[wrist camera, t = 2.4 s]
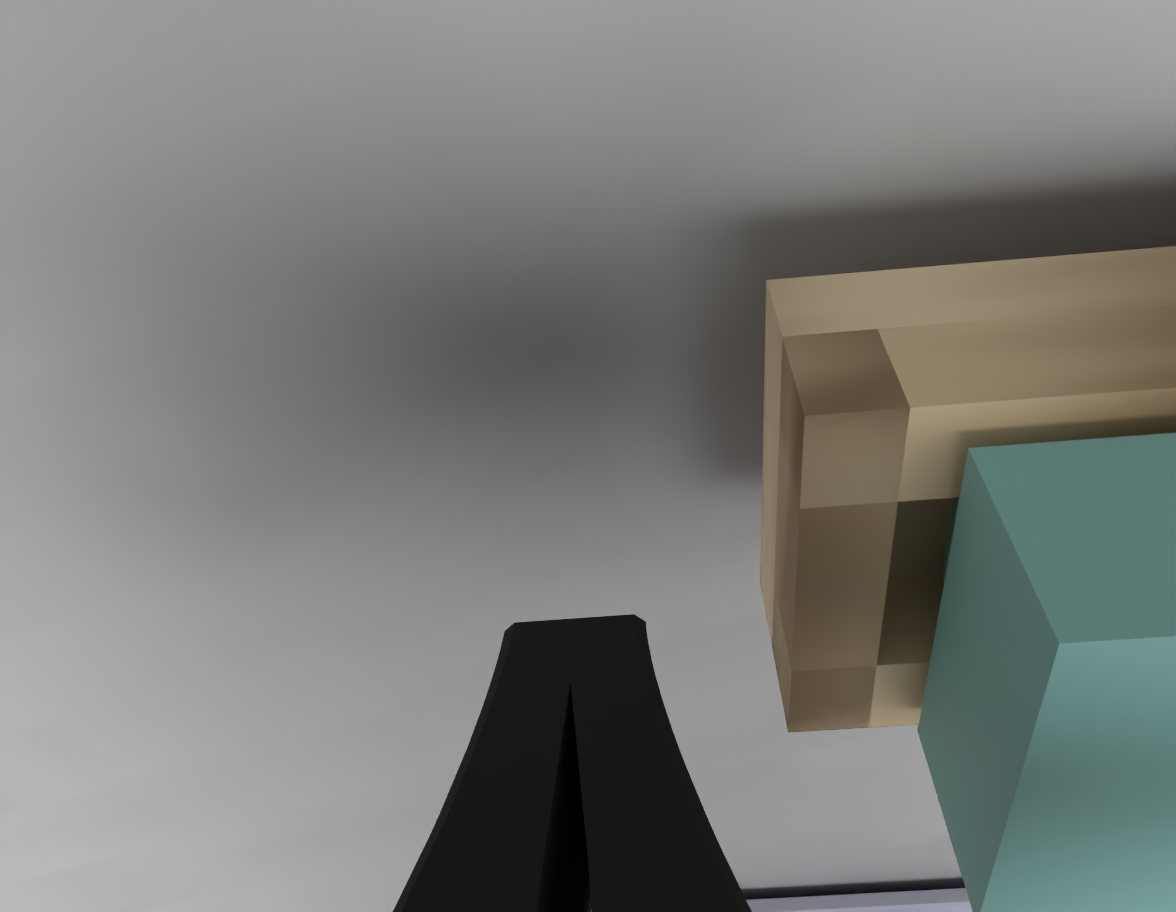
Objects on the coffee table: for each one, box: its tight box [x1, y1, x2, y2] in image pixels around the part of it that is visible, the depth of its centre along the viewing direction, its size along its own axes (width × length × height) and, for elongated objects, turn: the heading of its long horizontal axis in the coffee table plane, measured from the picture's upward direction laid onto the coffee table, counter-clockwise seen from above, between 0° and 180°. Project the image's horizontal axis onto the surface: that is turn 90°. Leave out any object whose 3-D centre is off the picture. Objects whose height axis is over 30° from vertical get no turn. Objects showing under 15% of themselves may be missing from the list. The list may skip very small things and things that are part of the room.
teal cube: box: [918, 433, 1176, 912], centre depth 11 cm, size 4×4×4 cm
